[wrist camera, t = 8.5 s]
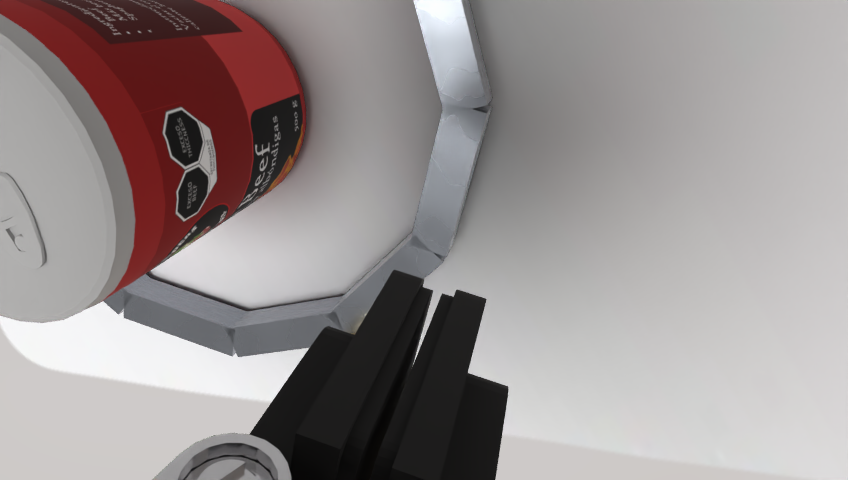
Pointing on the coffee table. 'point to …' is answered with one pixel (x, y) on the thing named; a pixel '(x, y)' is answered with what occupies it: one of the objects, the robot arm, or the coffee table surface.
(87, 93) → the canned food
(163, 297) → the ring
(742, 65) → the coffee table surface
